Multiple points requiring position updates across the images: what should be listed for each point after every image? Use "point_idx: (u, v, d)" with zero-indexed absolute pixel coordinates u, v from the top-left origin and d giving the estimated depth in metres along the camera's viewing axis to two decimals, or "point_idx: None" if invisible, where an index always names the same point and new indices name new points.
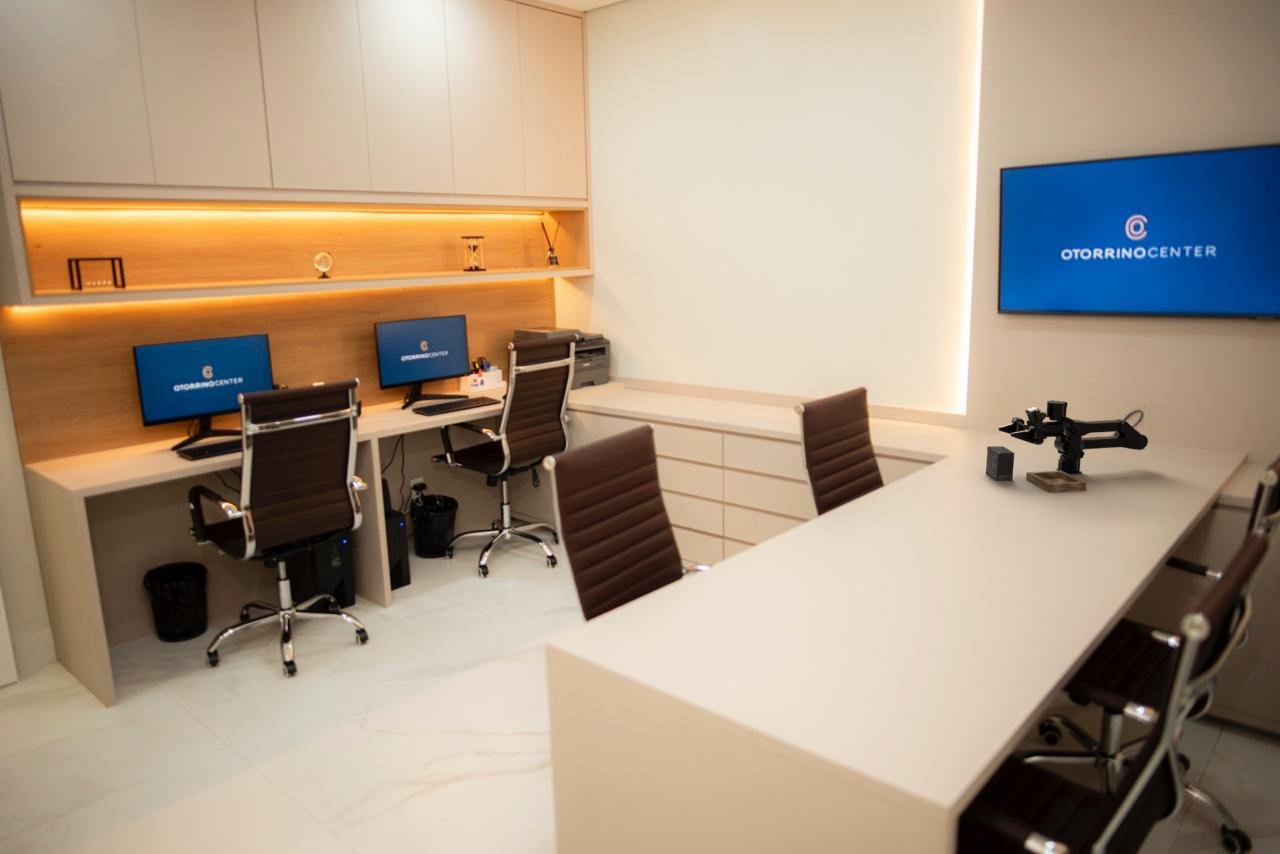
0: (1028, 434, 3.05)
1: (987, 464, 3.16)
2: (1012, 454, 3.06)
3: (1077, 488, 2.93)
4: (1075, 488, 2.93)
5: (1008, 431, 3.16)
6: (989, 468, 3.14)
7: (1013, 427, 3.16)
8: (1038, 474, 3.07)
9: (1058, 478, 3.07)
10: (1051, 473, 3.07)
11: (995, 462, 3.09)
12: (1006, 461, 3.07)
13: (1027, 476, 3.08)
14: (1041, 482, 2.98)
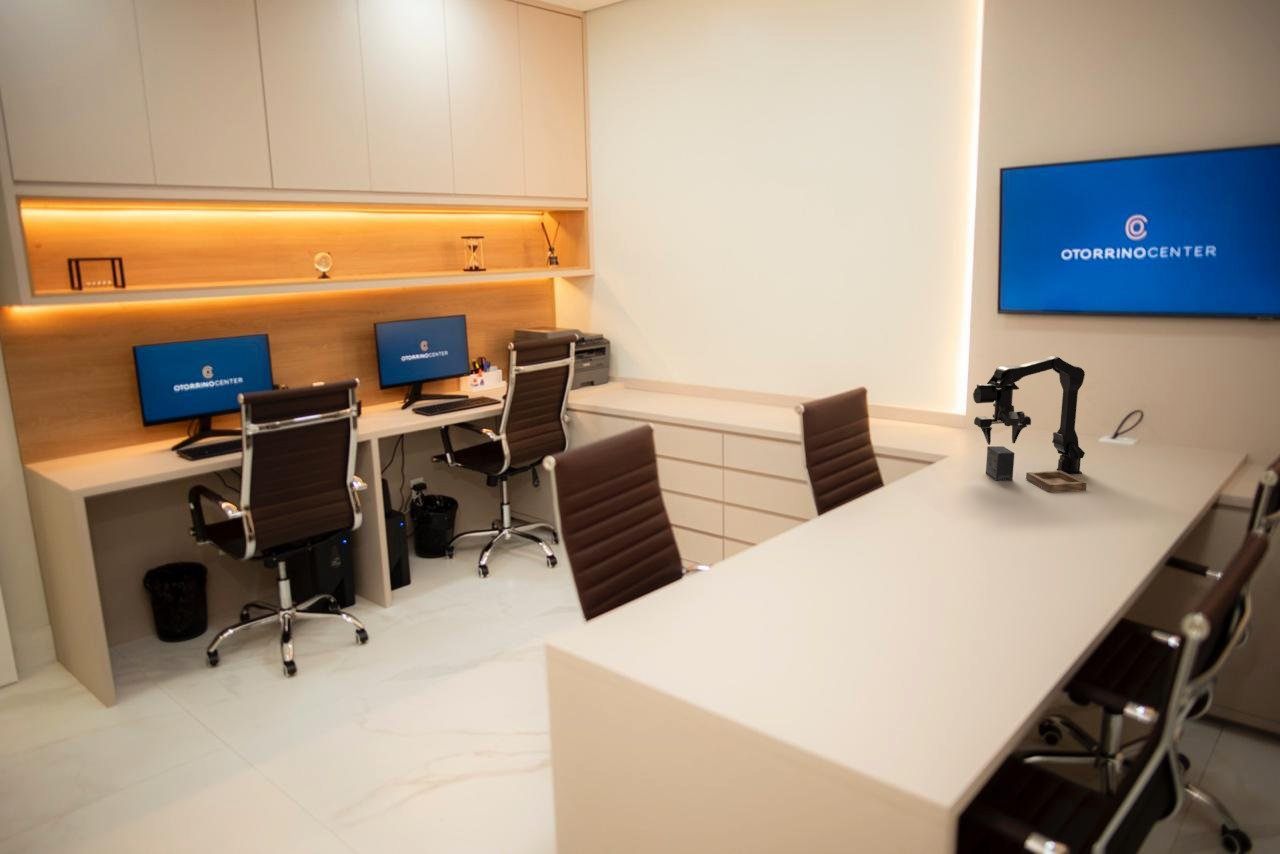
0: None
1: (987, 464, 3.16)
2: (1012, 454, 3.06)
3: (1077, 488, 2.93)
4: (1075, 488, 2.93)
5: None
6: (989, 468, 3.14)
7: None
8: (1038, 474, 3.07)
9: (1058, 478, 3.07)
10: (1051, 473, 3.07)
11: (995, 462, 3.09)
12: (1006, 461, 3.07)
13: (1027, 476, 3.08)
14: (1041, 482, 2.98)
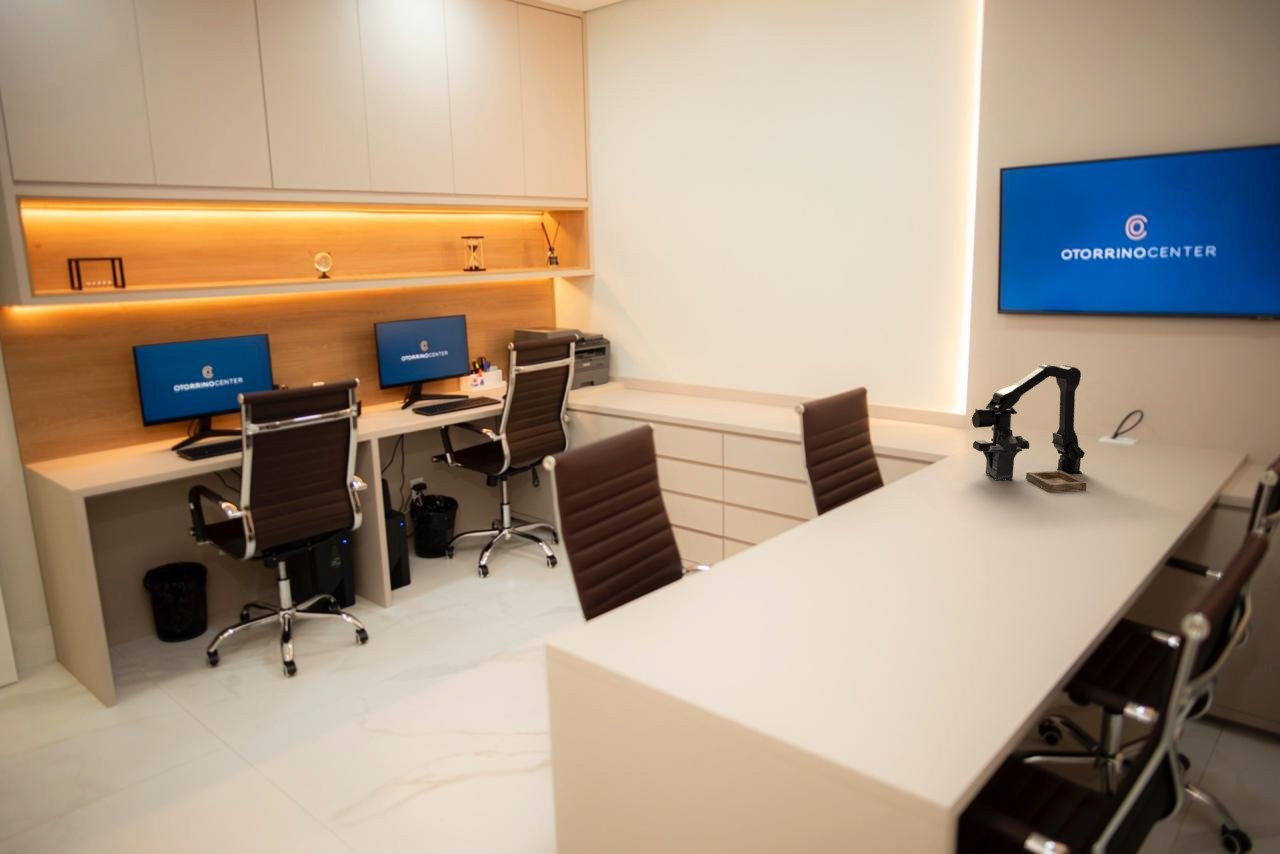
0: None
1: (987, 464, 3.16)
2: (1012, 454, 3.06)
3: (1077, 488, 2.93)
4: (1075, 488, 2.93)
5: None
6: (989, 468, 3.14)
7: None
8: (1038, 474, 3.07)
9: (1058, 478, 3.07)
10: (1051, 473, 3.07)
11: (995, 462, 3.09)
12: (1006, 460, 3.07)
13: (1027, 476, 3.08)
14: (1041, 482, 2.98)
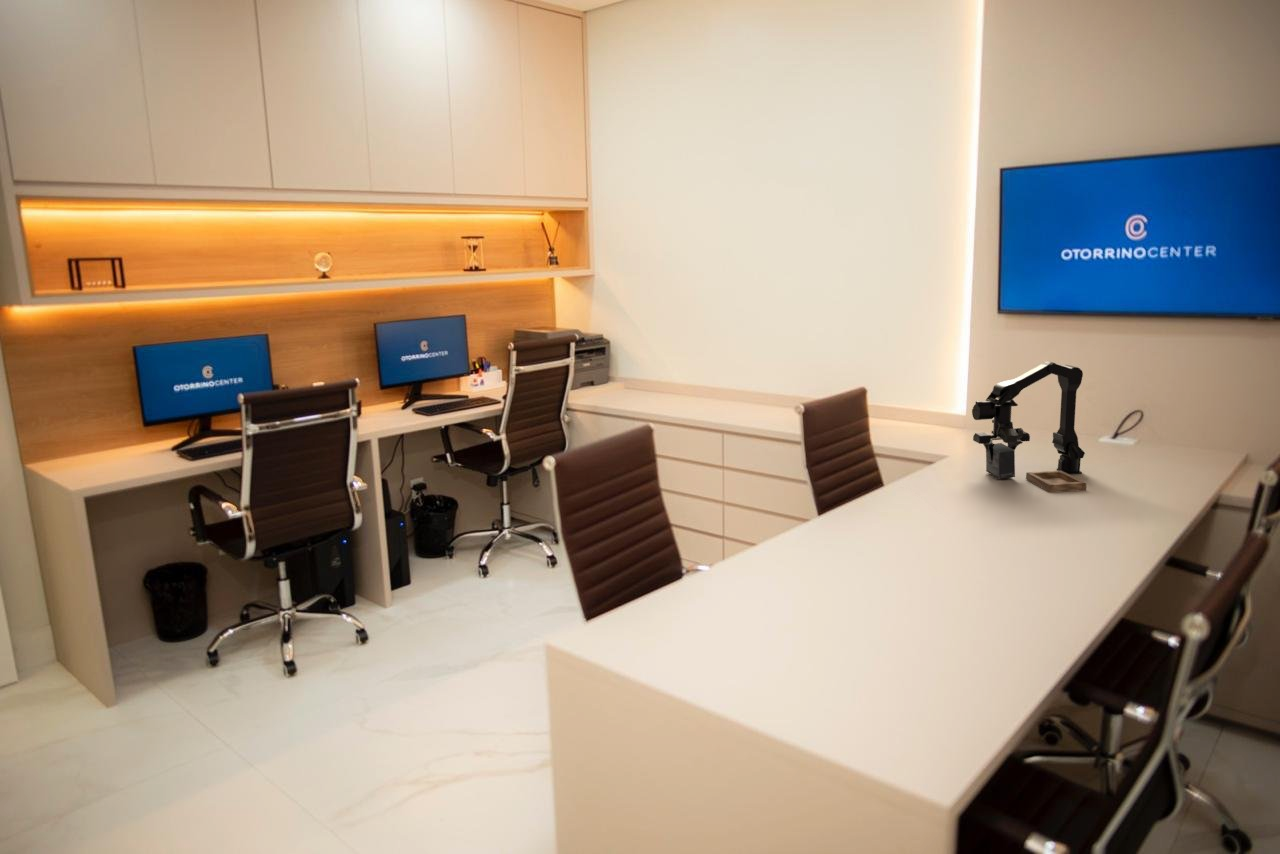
0: None
1: (987, 462, 3.16)
2: (1012, 451, 3.06)
3: (1077, 488, 2.93)
4: (1075, 488, 2.93)
5: None
6: (990, 467, 3.14)
7: None
8: (1038, 474, 3.07)
9: (1058, 478, 3.07)
10: (1051, 473, 3.07)
11: (996, 461, 3.09)
12: (1007, 459, 3.07)
13: (1027, 476, 3.08)
14: (1041, 482, 2.98)
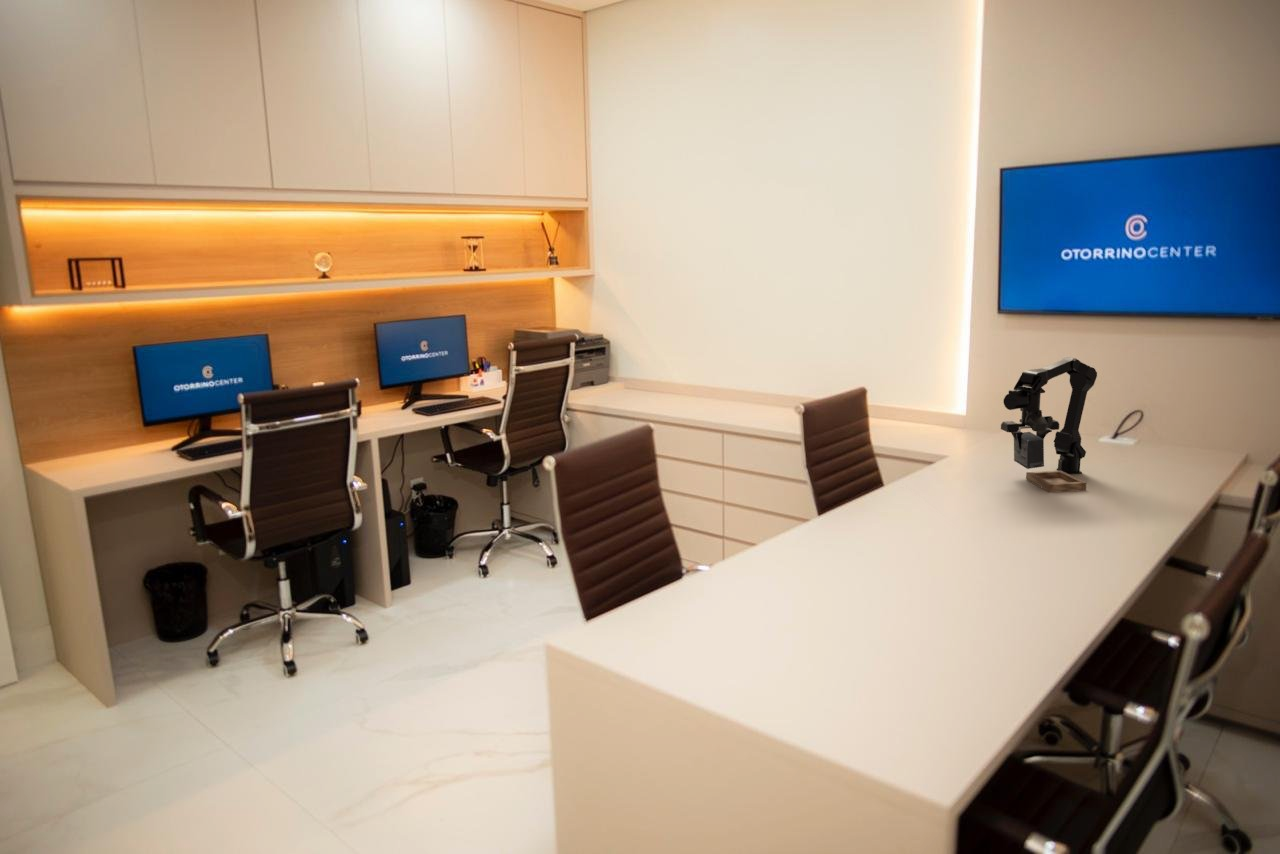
0: None
1: (1015, 452, 3.09)
2: (1041, 440, 2.99)
3: (1077, 488, 2.93)
4: (1075, 488, 2.93)
5: None
6: (1018, 456, 3.07)
7: None
8: (1038, 474, 3.07)
9: (1058, 478, 3.07)
10: (1051, 473, 3.07)
11: (1024, 450, 3.02)
12: (1036, 448, 3.00)
13: (1027, 476, 3.08)
14: (1041, 482, 2.98)
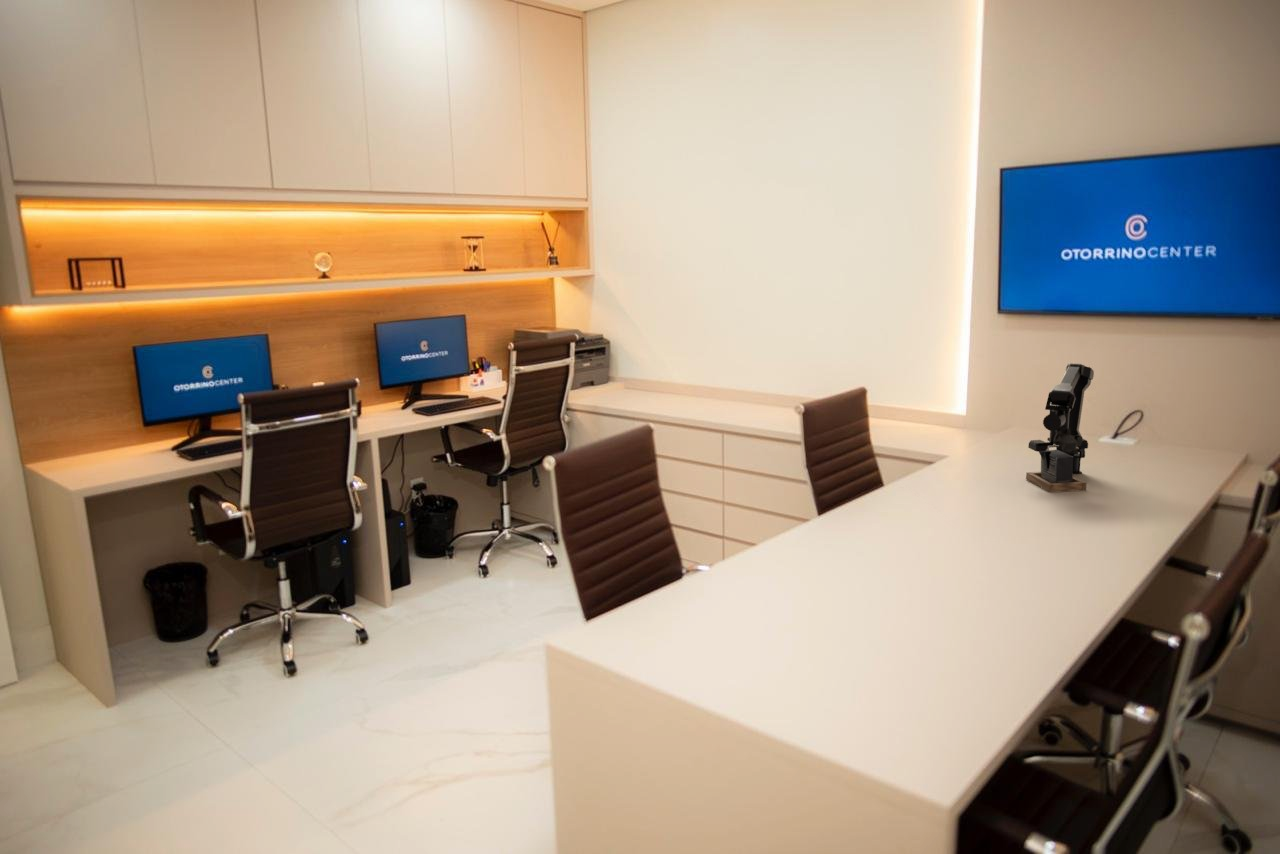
0: None
1: (1042, 469, 3.04)
2: (1070, 458, 2.94)
3: (1077, 488, 2.93)
4: (1075, 488, 2.93)
5: None
6: (1046, 474, 3.02)
7: None
8: (1038, 474, 3.07)
9: None
10: None
11: (1053, 467, 2.97)
12: (1065, 465, 2.95)
13: (1027, 476, 3.08)
14: (1041, 482, 2.98)
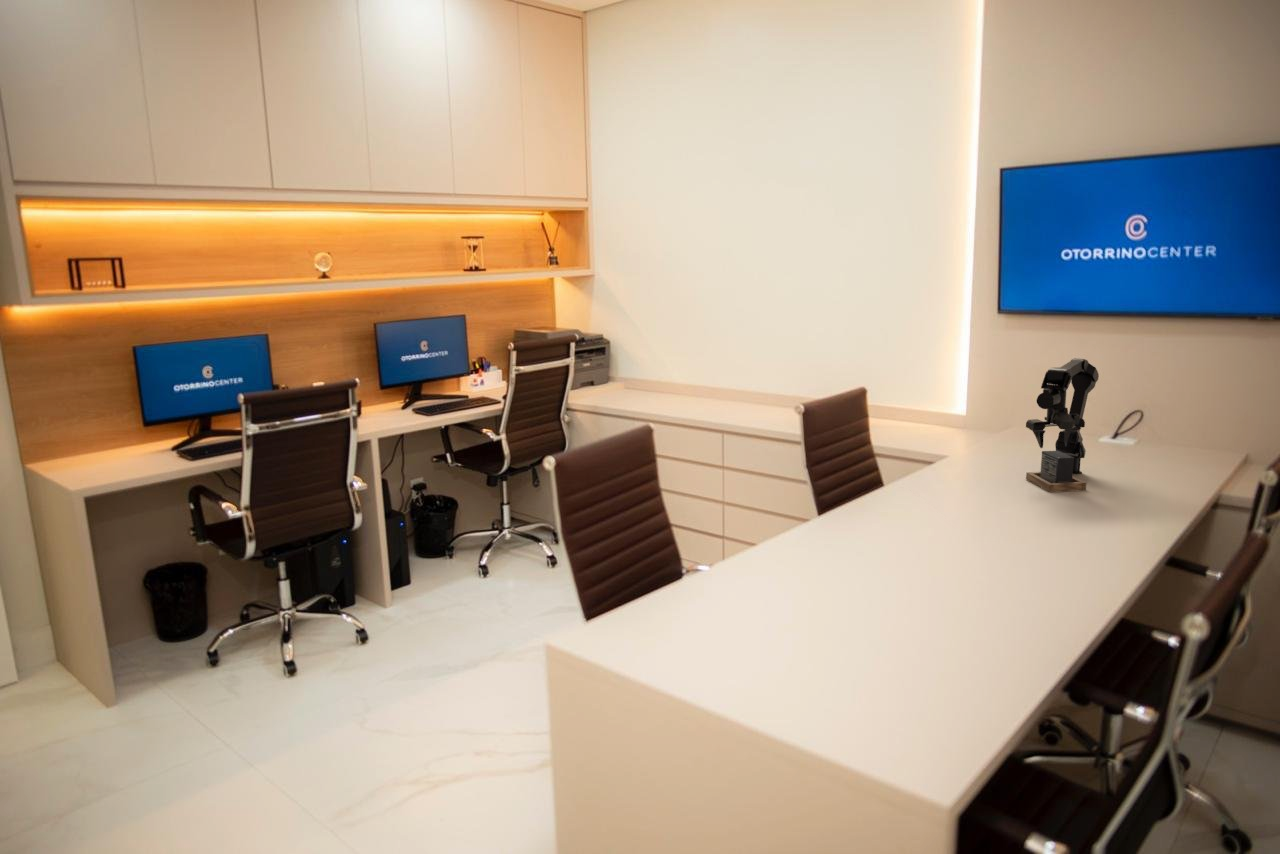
0: None
1: (1042, 469, 3.04)
2: (1072, 459, 2.95)
3: (1077, 488, 2.93)
4: (1075, 488, 2.93)
5: None
6: (1045, 474, 3.02)
7: None
8: (1038, 474, 3.07)
9: None
10: None
11: (1053, 467, 2.97)
12: (1066, 466, 2.95)
13: (1027, 476, 3.08)
14: (1041, 482, 2.98)
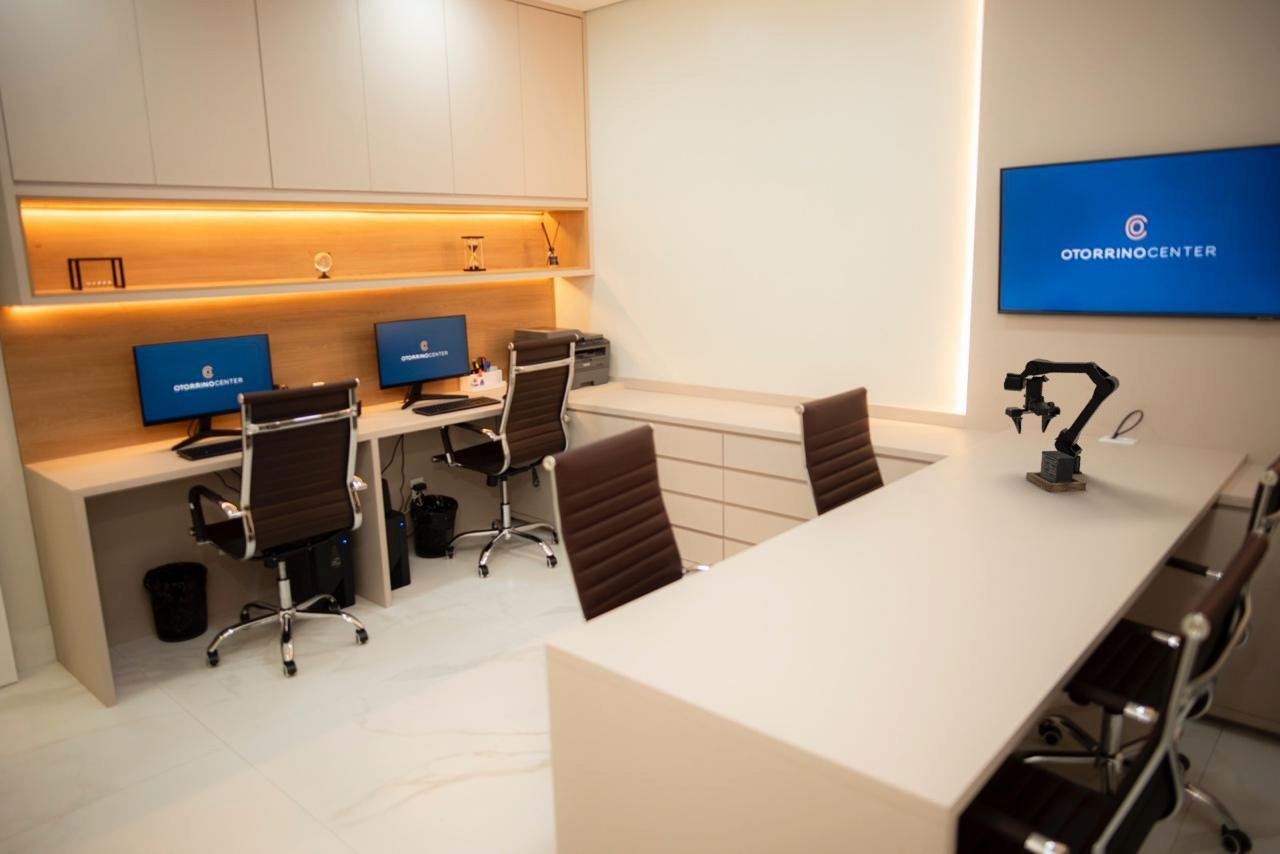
0: None
1: (1042, 469, 3.04)
2: (1072, 459, 2.95)
3: (1077, 488, 2.93)
4: (1075, 488, 2.93)
5: None
6: (1045, 474, 3.02)
7: None
8: (1038, 474, 3.07)
9: None
10: None
11: (1053, 467, 2.97)
12: (1066, 466, 2.95)
13: (1027, 476, 3.08)
14: (1041, 482, 2.98)
